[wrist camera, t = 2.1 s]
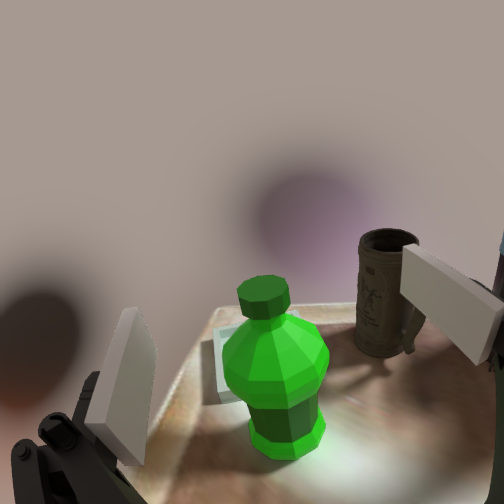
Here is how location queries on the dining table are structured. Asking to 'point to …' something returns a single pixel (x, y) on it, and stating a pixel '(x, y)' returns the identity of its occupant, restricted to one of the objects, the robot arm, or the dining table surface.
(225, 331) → the tray
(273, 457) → the plastic bottle
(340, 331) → the dining table surface
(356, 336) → the beer stein
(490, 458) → the dining table surface
